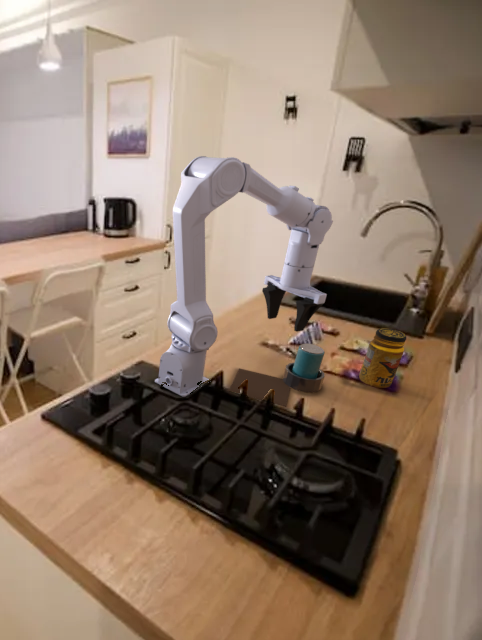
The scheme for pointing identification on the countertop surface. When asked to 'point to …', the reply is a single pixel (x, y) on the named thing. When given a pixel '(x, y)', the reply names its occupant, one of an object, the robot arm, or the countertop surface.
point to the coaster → (261, 386)
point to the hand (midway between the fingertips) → (284, 324)
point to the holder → (302, 380)
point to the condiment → (383, 358)
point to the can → (308, 361)
